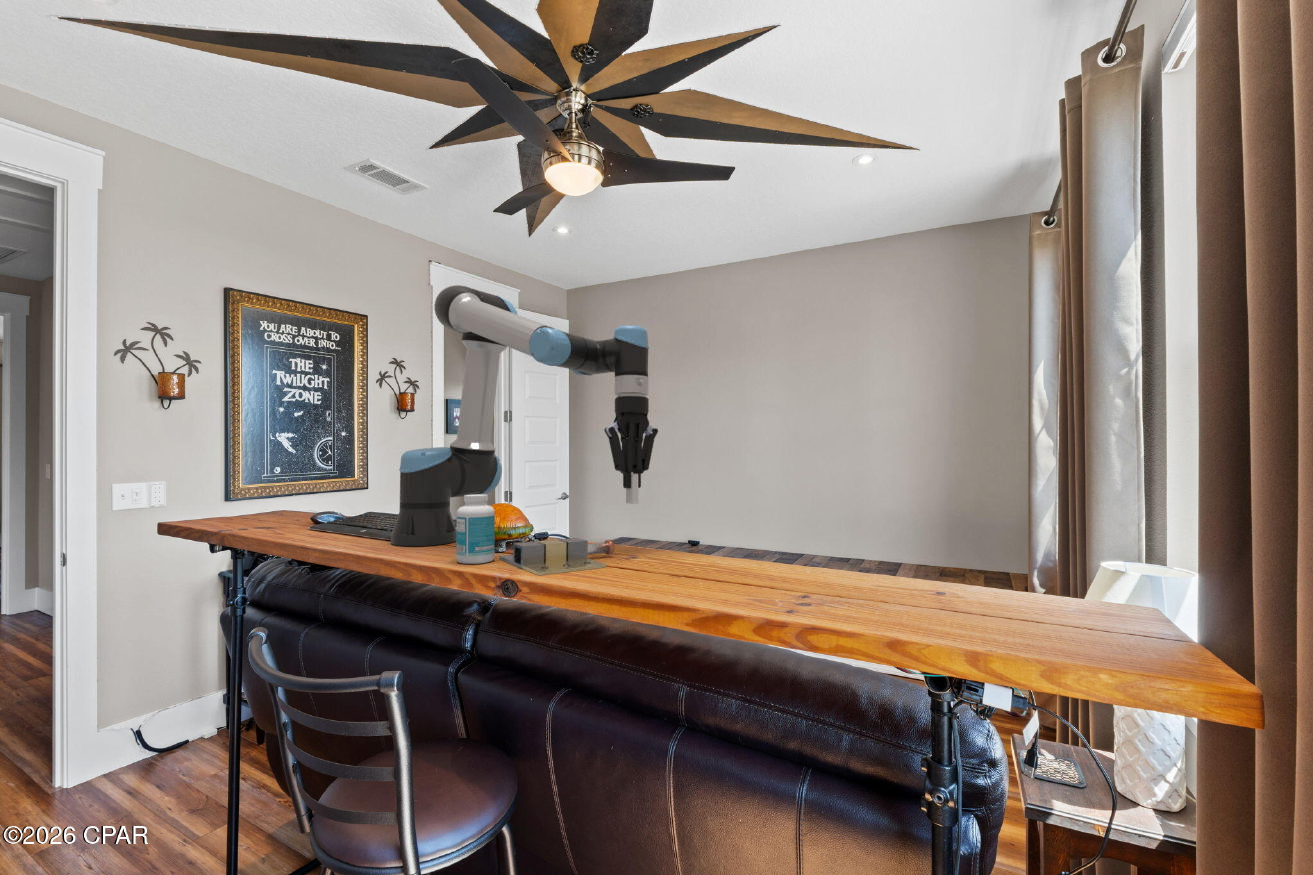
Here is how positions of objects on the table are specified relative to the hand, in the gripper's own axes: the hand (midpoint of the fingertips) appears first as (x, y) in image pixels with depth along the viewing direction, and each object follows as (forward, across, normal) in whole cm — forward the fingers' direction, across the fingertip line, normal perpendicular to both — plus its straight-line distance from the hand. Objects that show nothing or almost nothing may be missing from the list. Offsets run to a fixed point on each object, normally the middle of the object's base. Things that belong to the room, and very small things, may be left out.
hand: (632, 503), depth 127 cm
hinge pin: (+11, -13, 0) cm, 17 cm away
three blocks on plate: (+11, -19, 0) cm, 22 cm away
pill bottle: (+11, -31, +10) cm, 35 cm away
